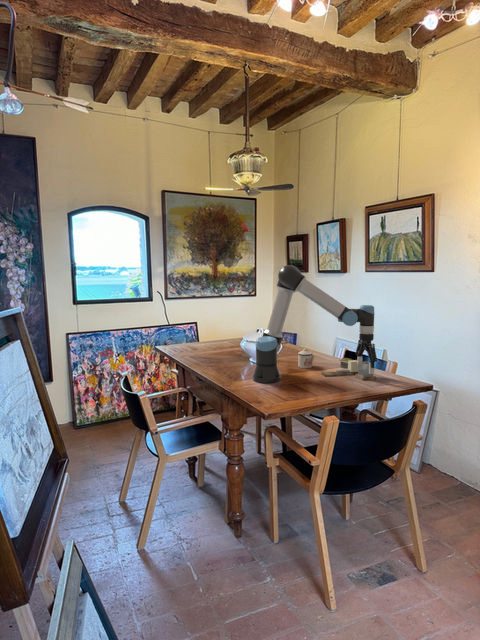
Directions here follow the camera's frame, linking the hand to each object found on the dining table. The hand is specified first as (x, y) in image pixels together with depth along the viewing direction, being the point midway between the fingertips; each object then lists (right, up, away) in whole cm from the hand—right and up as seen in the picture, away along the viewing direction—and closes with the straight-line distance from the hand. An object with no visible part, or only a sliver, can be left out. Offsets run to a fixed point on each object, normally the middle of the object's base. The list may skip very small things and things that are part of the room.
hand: (365, 370), depth 217 cm
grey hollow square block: (0, -3, 0) cm, 3 cm away
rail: (-10, -3, +9) cm, 14 cm away
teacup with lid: (-28, -1, +28) cm, 40 cm away
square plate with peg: (0, -4, +1) cm, 4 cm away
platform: (-4, -2, +23) cm, 24 cm away
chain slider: (-8, -2, +9) cm, 12 cm away
